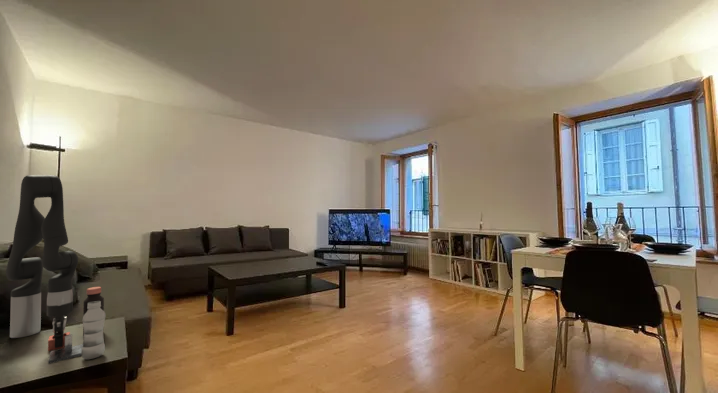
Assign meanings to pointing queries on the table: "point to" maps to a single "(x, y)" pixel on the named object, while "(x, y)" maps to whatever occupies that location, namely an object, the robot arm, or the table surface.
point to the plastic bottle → (93, 331)
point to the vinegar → (93, 299)
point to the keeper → (66, 351)
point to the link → (52, 342)
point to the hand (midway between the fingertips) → (59, 343)
